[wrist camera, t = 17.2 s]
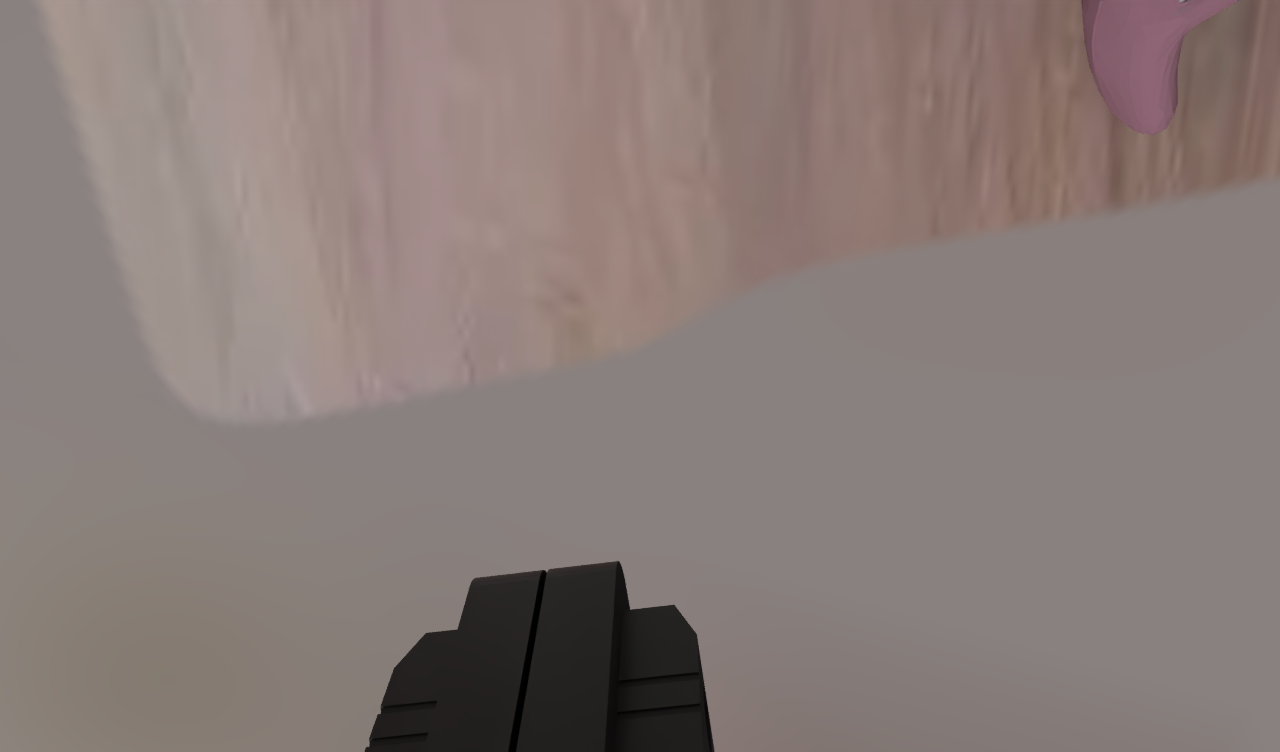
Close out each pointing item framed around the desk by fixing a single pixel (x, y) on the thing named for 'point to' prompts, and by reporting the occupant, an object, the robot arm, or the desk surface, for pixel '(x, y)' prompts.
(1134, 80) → the video game controller
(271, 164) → the desk surface
